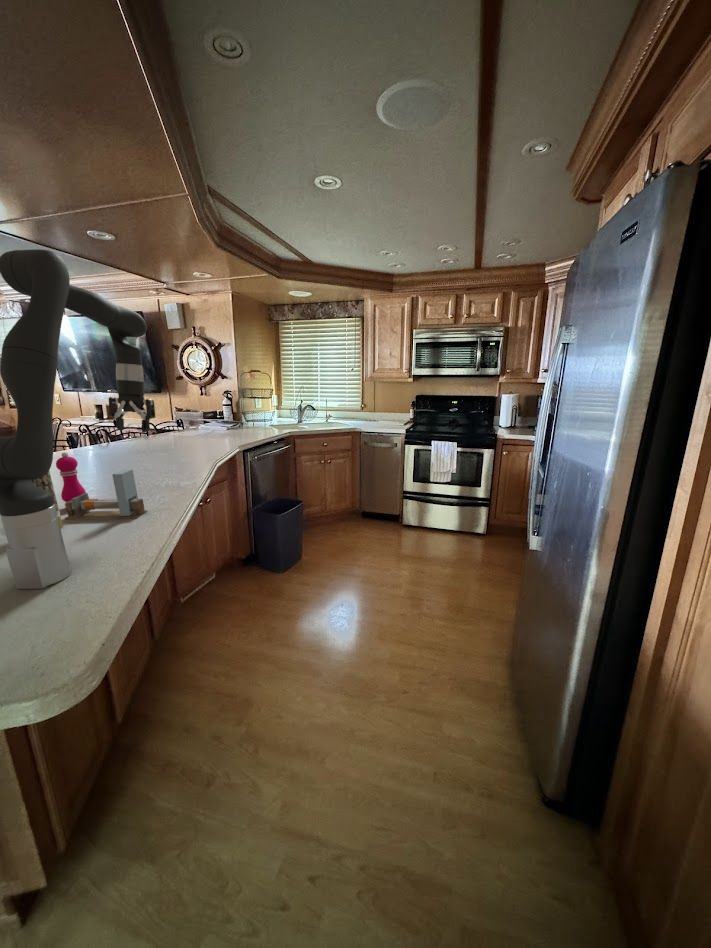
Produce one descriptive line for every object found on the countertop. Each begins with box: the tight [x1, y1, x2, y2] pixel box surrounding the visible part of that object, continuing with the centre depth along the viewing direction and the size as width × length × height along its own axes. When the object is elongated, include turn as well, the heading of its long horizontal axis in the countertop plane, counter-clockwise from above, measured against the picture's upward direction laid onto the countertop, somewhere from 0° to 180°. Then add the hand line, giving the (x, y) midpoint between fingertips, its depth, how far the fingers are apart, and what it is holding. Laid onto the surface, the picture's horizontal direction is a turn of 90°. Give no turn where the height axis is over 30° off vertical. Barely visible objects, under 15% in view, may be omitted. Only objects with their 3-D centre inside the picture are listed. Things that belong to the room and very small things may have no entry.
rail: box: [64, 492, 148, 520], centre depth 125 cm, size 6×24×7 cm, turn 90°
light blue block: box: [111, 468, 139, 516], centre depth 123 cm, size 6×3×14 cm, turn 0°
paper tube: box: [30, 470, 64, 530], centre depth 111 cm, size 7×7×25 cm
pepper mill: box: [55, 452, 87, 510], centre depth 132 cm, size 7×7×20 cm
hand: (133, 430), depth 122 cm, fingers open, 8 cm apart
